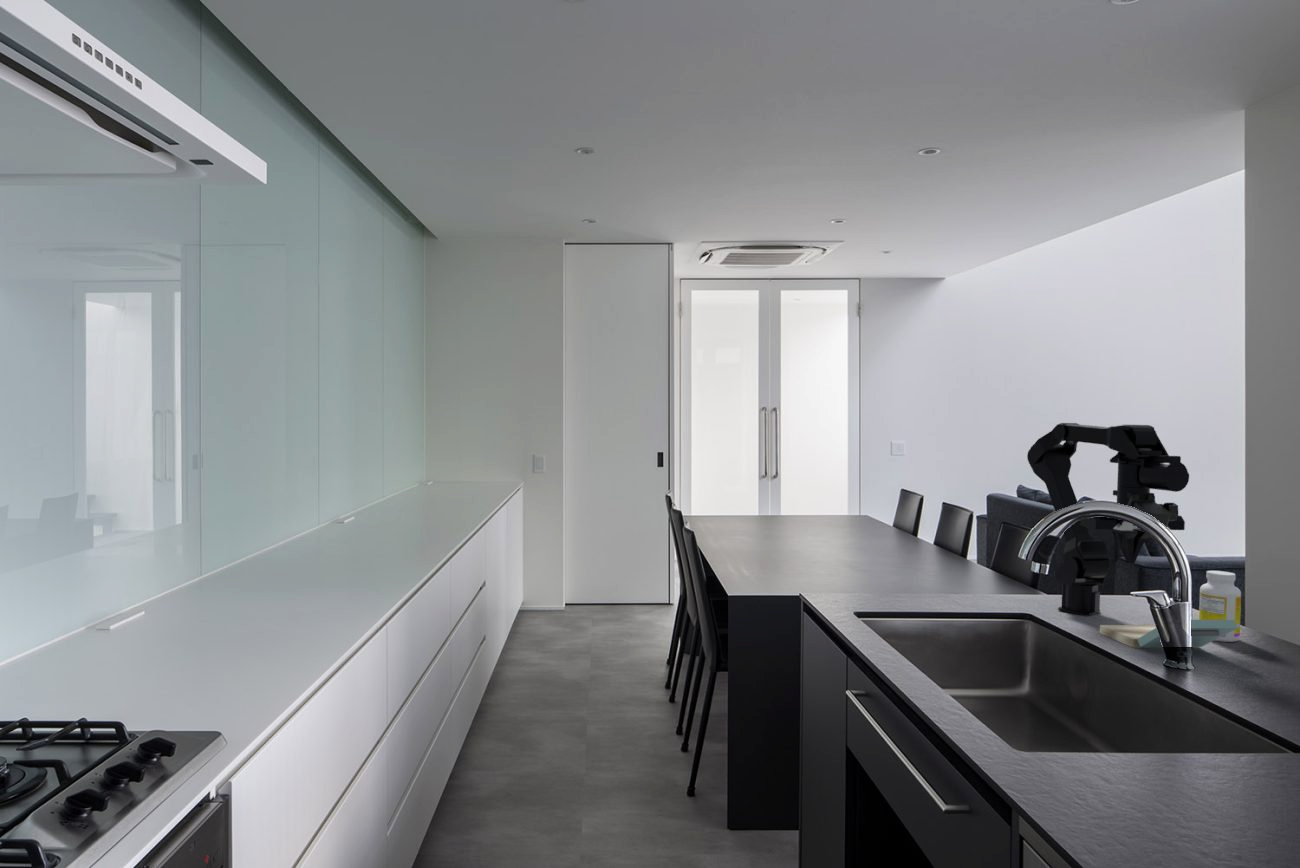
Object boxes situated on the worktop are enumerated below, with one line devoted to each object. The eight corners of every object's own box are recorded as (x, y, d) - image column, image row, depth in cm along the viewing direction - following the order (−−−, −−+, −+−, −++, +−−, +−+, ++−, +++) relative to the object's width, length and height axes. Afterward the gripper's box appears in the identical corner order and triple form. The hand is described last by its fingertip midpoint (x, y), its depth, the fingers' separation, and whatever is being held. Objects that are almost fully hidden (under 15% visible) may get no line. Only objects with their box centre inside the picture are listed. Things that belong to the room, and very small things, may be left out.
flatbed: (1099, 633, 164) (1099, 625, 164) (1162, 633, 165) (1162, 625, 165) (1133, 647, 154) (1133, 639, 154) (1199, 647, 156) (1199, 639, 155)
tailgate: (1137, 638, 154) (1169, 619, 146) (1198, 638, 155) (1234, 619, 147) (1141, 651, 153) (1174, 633, 144) (1203, 651, 154) (1239, 632, 145)
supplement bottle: (1226, 634, 166) (1229, 570, 165) (1247, 643, 159) (1250, 576, 159) (1191, 632, 166) (1193, 568, 166) (1209, 642, 160) (1212, 575, 159)
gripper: (1114, 490, 160) (1111, 571, 160) (1206, 491, 161) (1203, 571, 162) (1080, 484, 171) (1077, 560, 171) (1166, 485, 172) (1163, 561, 173)
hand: (1130, 563), depth 169 cm, fingers closed
